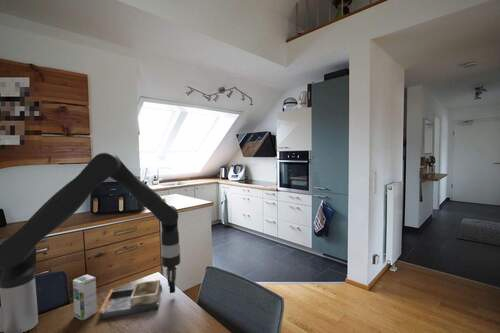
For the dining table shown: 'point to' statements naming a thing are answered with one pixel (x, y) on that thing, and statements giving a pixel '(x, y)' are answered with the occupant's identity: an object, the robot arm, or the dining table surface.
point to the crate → (145, 293)
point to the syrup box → (84, 296)
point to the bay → (123, 304)
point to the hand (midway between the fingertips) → (172, 292)
